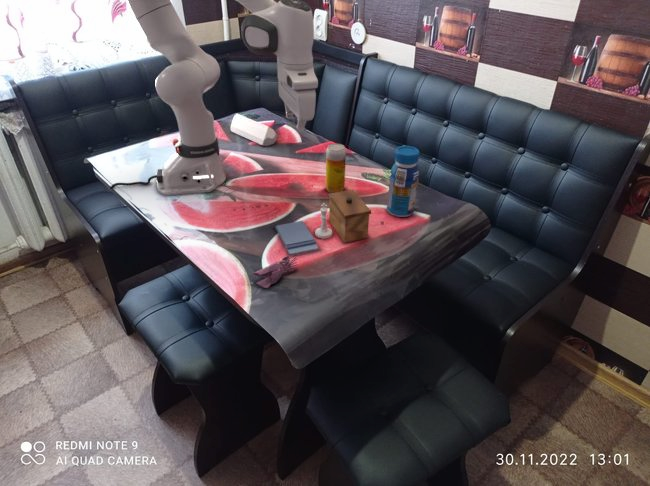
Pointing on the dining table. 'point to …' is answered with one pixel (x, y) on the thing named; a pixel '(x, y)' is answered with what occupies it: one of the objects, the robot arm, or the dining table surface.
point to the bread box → (349, 215)
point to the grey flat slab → (296, 238)
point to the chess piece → (323, 225)
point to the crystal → (253, 130)
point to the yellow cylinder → (335, 167)
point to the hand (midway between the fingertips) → (295, 124)
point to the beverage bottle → (403, 182)
